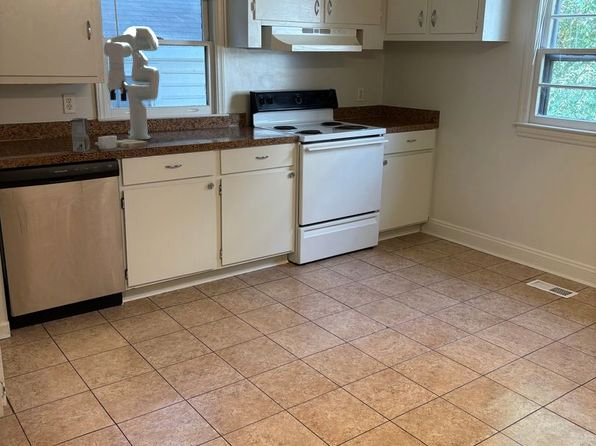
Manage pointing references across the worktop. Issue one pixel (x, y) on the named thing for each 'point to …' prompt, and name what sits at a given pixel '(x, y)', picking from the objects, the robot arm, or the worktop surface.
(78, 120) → the coffee box
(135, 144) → the maple board
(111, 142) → the connector
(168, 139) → the worktop surface
